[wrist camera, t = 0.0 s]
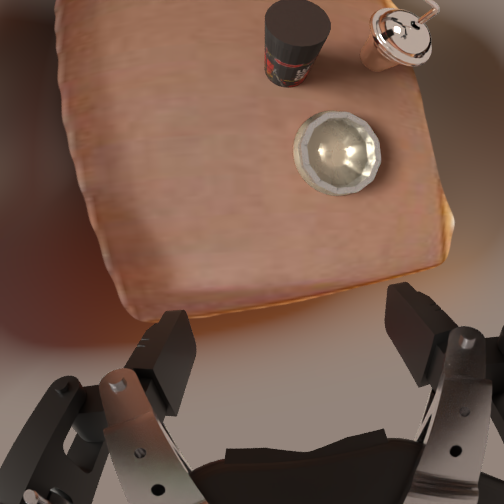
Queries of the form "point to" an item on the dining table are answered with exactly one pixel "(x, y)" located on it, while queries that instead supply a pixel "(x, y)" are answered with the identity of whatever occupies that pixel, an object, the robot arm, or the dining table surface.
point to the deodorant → (293, 40)
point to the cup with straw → (397, 39)
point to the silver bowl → (336, 153)
